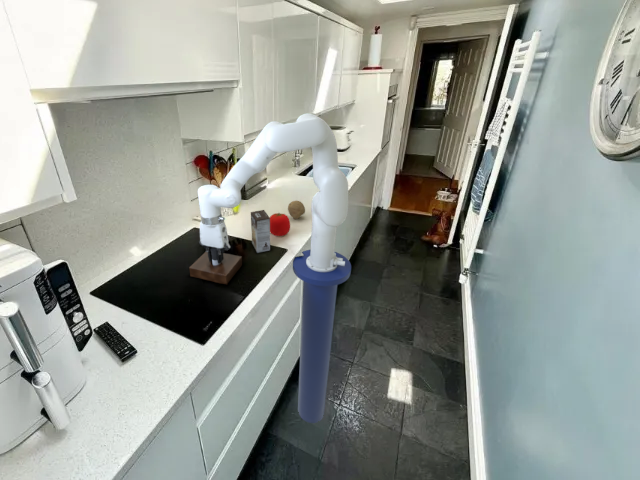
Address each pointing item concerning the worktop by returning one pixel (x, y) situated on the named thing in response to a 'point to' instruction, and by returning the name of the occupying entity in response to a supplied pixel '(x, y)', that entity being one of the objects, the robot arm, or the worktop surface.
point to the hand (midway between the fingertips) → (216, 260)
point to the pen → (214, 256)
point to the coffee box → (260, 230)
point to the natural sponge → (296, 209)
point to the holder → (216, 268)
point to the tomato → (279, 224)
